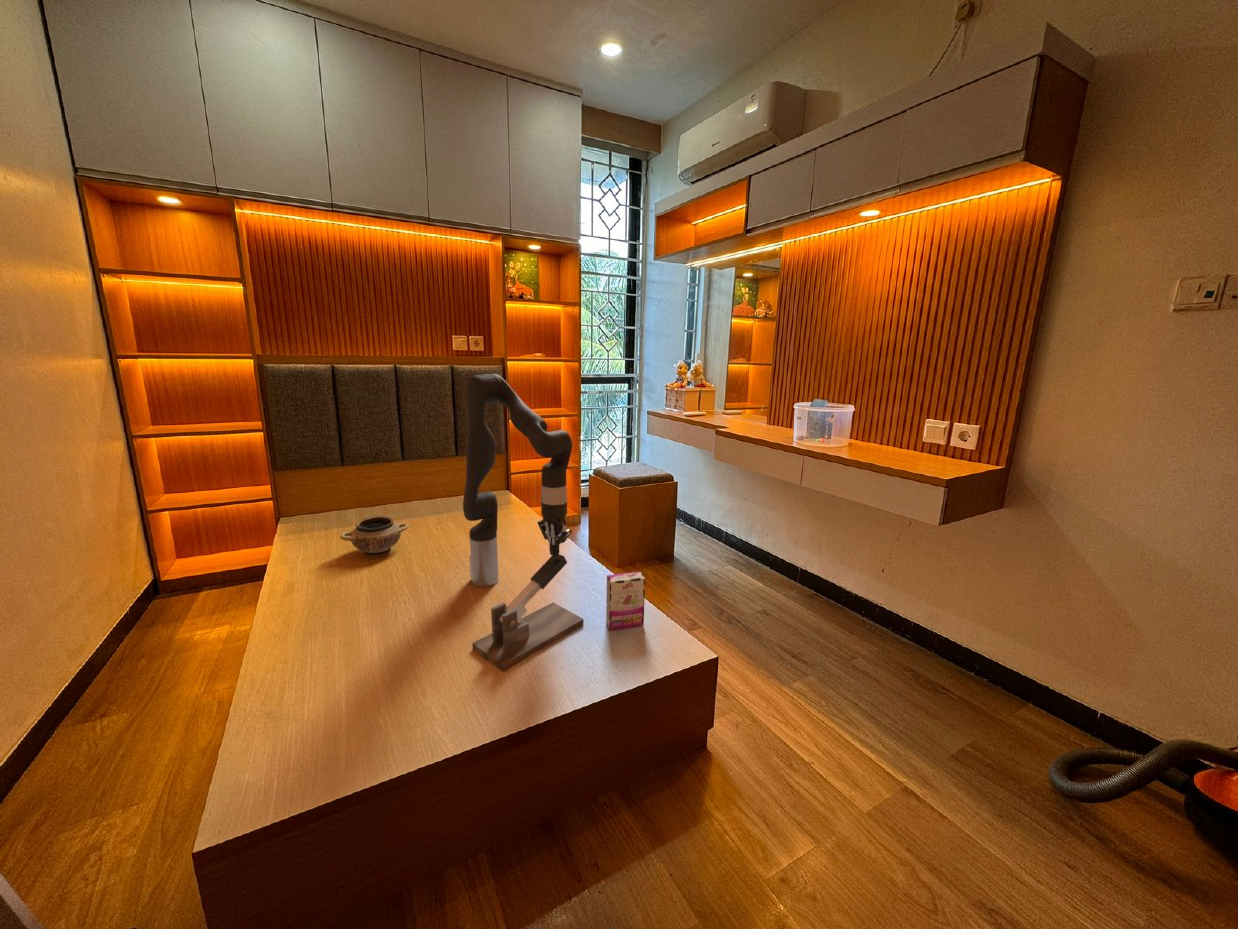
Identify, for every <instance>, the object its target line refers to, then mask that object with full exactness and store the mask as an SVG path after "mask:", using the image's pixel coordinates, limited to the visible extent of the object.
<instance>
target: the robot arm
mask: <svg viewBox="0 0 1238 929" xmlns="http://www.w3.org/2000/svg"><path fill="white" fill-rule="evenodd" d="M465 396H466V397H465V398H466V413H467V414H466V415H467V439H466V456H465V457H466V460H465V461H466V462H465V463H466V466H465V468H466V469H465V470H466V472H465V473H466V475H465V483H464V484H465V485H464V491H463V492H464V493H463V503H462V510H463V516H464V518H465V519H466V520H467V521H469V522H472V521H473V522H474V521H480V522H478V523H477V524H475V525H474V526H472V527H471V528H470V530H469V548H470V550H469V551H470V555H469V566H470V567H469V569H470V571H469V572H470V580H471V583H472V585H473V586H475V587H480V588H484V587H490V586H491V587H492V586H493V585H495V584H497V582H499V556H498V535H497V534H498V533H497V532H498V511H499V510H498V500H497V496H496V494H495V493H494V492H493V491H488V490H487V491H481V492H479V490H480V486H481V485H482V482H484V479H485V478H486V477H487V476H488V475H489V473H490V472H491V470H492V469H493V467H494V465H495V462H496V457H497V456H496V455H497V441H496V438H495V436H494V434H493V432H491V429H490V428H489V427H488V425H487V422H486V420H485V409H486V408H485V407H486V406H488V405H492V404H497V403H499V404H500V405H503V406H504V407H505V408H507V410H508V415H509V420H510V421H511V423H512V425H513V426H514V427H515V429H516V430H517V431H519V432H520V433H522V435H524V437H526V438H527V440H528V441H529V443H530V444H531V446H532V448H533V449H534V450H535V452H536V453H537V454H538V455H539V456H541V457H542V458H546V459H550V460H549V461H548V462H547V463H546V464H544V465H543V466H542V467H541V490H540V511H541V512H540V515H541V516H542V519H541V520H538V521H537V525H538V527H539V530H540V532H541V534H542V536H543V538H544V540H547V543H548V544H549V551H548V552H549V555H551V556H552V555H553V556H556V555H558V554H560V545H561V544H563V543H565V542H566V541H567V540H568V539H569V537H570V535H572V529H570V528H568V527H567V526H566V525H567V522H566V516H567V515H568V488H567V470H568V466H569V464H570V459H571V455H572V450H573V442H572V438H571V435H570V433H568V432H567V431H566V430H564V429H563V430H562V429H559V430H554V431H552V430H551V431H548V423H547V422H546V421H545V419H544V418H542V417H541V416H540V415H538V414H537V413H536V412H535V411H534V410H532V409H531V408H530V407H529V406H528V405H527V404H526V403H525V402H524V401H523V400H522V399H521V398H520V396H519V395H518V394H517V393H516V391H515V390H514V389H513V388H512V387H511V385H509V383H508V382H507V381H506V380H505V379H504V378H503V377H502V376H501V375H499V374H497V373H483V374H475V375H471V376H470V377H469V378H468V379H467V382H466V386H465Z"/></svg>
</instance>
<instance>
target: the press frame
mask: <svg viewBox="0 0 1238 929" xmlns="http://www.w3.org/2000/svg"><path fill="white" fill-rule="evenodd" d="M506 607H507V603H505V602H504V601H503V602H501V603H498V604H496V605H494V606H492V607H491V608H490V613H491V633H489V634H487V635H485V636H484V637H482V638H480V639H478V640H475V641H474V642H472V650H473V651H475V652H476V653H477V654H478V655H480V656H481V657H483V659H484V660H486V661H488V663H490V664H491V665H492V666H494V667H495V668H497V669H498V670H499V671H500V672H502V673H503V672H505V671H507V670H508V669H511V668H512V667H514V666H515V665H517V664H519V663H521V662H523V661H524V660H526V659H527V658H529V657H531V656H533V655H535V654H536V653H537V652H539V651H541V650H543V649H545V648H546V647H548V646H549V645H551V644H553V643H555V642H557V641H558V640H560V639H561V638H563V637H565V636H567V635H568V634H570V633H572V632H574V631H575V630H577V629H579V628H580V627H582V626H584V618H583V617H581V616H579V615H577V614H576V613H574V612H572V611H570V610H568V609H566V608H564V607H563V606H561V605H559V604H557V603H555V602H553V601H552V602H551V603H549V604H547V605H545V606H543V607H541V608H539V609H537V610H535V611H533V612H531V613H529V614H527V615H525V616H522V617H521V618H520V619H519V618H517V610H515V609H513V610H511V611H509V612H507V613H505V612H504V611H503V610H504V609H505V608H506ZM500 613H505V614H503V615H502V623H501V622H500V621H498V619H497V618H498V615H499V614H500Z"/></svg>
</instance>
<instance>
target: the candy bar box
mask: <svg viewBox="0 0 1238 929" xmlns="http://www.w3.org/2000/svg"><path fill="white" fill-rule="evenodd" d="M645 594H646V577H645V576H644V575H643V572H642V571H636V572H635V571H634V572H633V571H632V572H624V573H616V574H607V575H606V606H605V607H606V610H605V611H606V612H605V613H606V614H605V615H606V618H605V620H606V625H607V626H608V629H609V631H617V630H624V629H629V628H637V627H643V626H644V624H645V623H644V622H645V597H646V595H645Z"/></svg>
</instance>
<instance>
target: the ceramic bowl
mask: <svg viewBox="0 0 1238 929" xmlns="http://www.w3.org/2000/svg"><path fill="white" fill-rule="evenodd" d="M409 528H410V525H409V524H408V523H403V522H401V523H395V522H394V520H393V518H391V517H389V516H386V515H376V516H370V517H365V518H363V519H361V520H358V522H357V523H356V527H355V528H353V529H352V530H351V531H344V532H342V533H341V534H340V535H339V538H340V539H341V540H342V541H346V542H351V543H352V545H353V547H355V549H357V550H359V551H361V552H363V553H364V555H365V556H368V557H379V556H380V557H381V556H384V555H386V554H388V553H389V552H391V548H392V547H394V546H395V545H396V544H398V542H399V540H400V538H401V533H402V532H404V531H405V532H406V530H408V529H409Z"/></svg>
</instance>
